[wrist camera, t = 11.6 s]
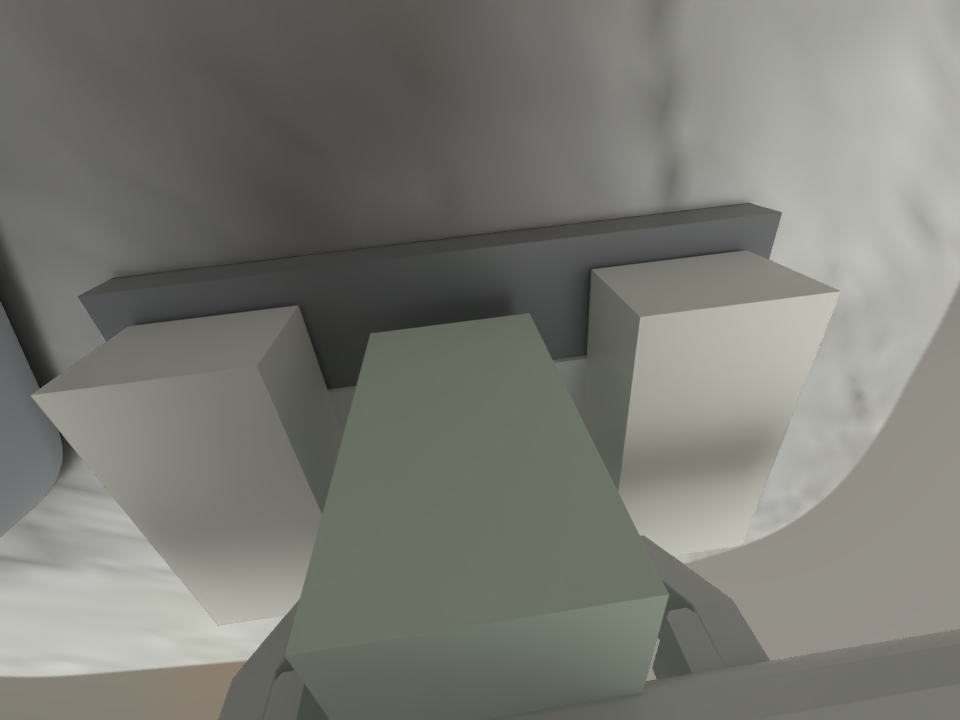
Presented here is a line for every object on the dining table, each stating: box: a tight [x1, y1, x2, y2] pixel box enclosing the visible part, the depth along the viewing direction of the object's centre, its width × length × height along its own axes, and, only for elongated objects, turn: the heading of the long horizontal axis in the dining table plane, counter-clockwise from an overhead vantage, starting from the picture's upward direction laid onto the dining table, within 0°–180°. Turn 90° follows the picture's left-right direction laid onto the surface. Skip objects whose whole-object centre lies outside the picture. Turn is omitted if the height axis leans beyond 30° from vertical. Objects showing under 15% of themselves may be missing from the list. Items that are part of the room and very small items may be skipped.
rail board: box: [30, 203, 841, 626], centre depth 14 cm, size 12×21×5 cm, turn 95°
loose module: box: [285, 313, 669, 720], centre depth 11 cm, size 9×4×8 cm, turn 5°
